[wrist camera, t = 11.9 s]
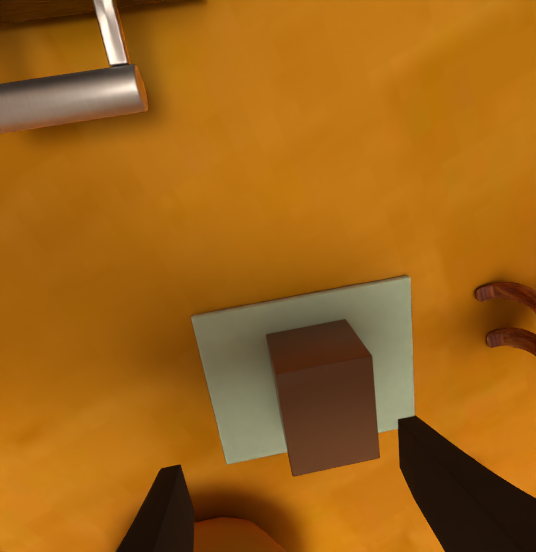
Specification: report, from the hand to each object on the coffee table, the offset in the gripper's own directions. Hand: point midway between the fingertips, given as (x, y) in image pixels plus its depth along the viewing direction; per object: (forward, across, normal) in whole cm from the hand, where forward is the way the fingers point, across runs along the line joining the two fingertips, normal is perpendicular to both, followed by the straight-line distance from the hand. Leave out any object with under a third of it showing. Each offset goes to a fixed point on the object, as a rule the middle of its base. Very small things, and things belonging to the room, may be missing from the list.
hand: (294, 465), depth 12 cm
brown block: (+9, -2, +3) cm, 10 cm away
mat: (+9, -2, +3) cm, 10 cm away
